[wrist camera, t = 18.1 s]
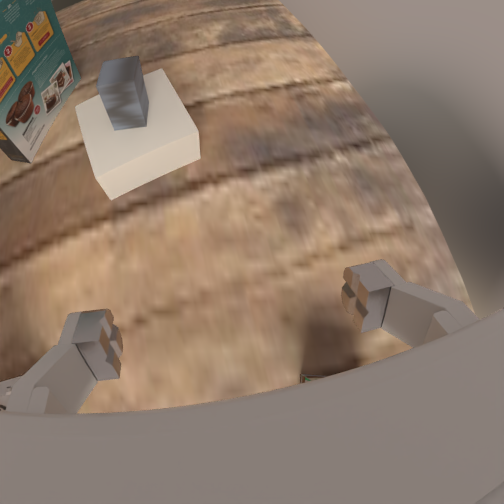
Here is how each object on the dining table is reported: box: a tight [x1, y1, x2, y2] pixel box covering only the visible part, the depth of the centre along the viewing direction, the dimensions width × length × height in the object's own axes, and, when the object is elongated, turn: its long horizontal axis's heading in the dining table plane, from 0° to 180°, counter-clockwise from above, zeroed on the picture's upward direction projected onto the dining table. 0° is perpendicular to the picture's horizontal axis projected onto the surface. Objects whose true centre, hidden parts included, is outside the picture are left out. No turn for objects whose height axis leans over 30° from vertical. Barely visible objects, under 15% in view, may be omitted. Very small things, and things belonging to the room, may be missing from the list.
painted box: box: [75, 68, 201, 200], centre depth 47 cm, size 16×16×8 cm
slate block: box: [96, 56, 149, 131], centre depth 38 cm, size 5×5×10 cm
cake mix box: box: [0, 0, 81, 163], centre depth 36 cm, size 22×6×30 cm, turn 167°
